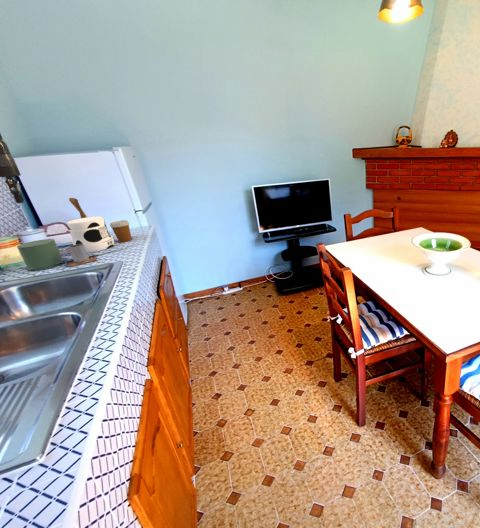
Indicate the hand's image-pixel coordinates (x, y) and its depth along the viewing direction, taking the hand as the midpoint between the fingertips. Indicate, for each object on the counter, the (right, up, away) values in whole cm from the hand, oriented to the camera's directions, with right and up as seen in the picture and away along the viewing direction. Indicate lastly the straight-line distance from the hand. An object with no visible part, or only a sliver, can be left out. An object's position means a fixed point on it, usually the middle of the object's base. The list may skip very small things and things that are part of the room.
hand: (20, 202), depth 138 cm
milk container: (+10, -22, +29) cm, 38 cm away
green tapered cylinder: (+1, -30, +11) cm, 32 cm away
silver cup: (+16, -27, +14) cm, 34 cm away
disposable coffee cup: (+14, -15, +46) cm, 50 cm away
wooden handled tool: (-5, -16, +46) cm, 49 cm away
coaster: (+16, -28, +14) cm, 35 cm away
